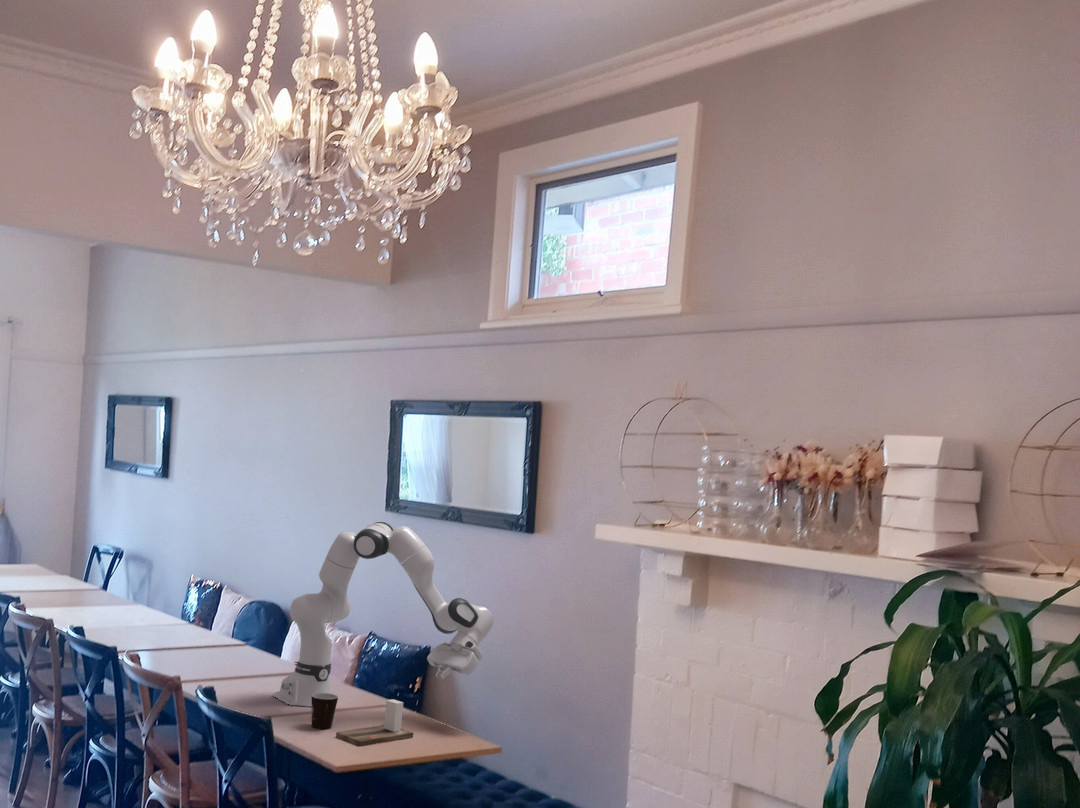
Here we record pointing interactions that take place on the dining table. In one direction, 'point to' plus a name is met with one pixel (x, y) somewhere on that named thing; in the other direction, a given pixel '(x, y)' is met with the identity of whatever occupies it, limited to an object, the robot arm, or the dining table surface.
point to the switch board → (372, 735)
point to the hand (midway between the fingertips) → (439, 677)
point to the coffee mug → (323, 710)
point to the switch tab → (393, 715)
